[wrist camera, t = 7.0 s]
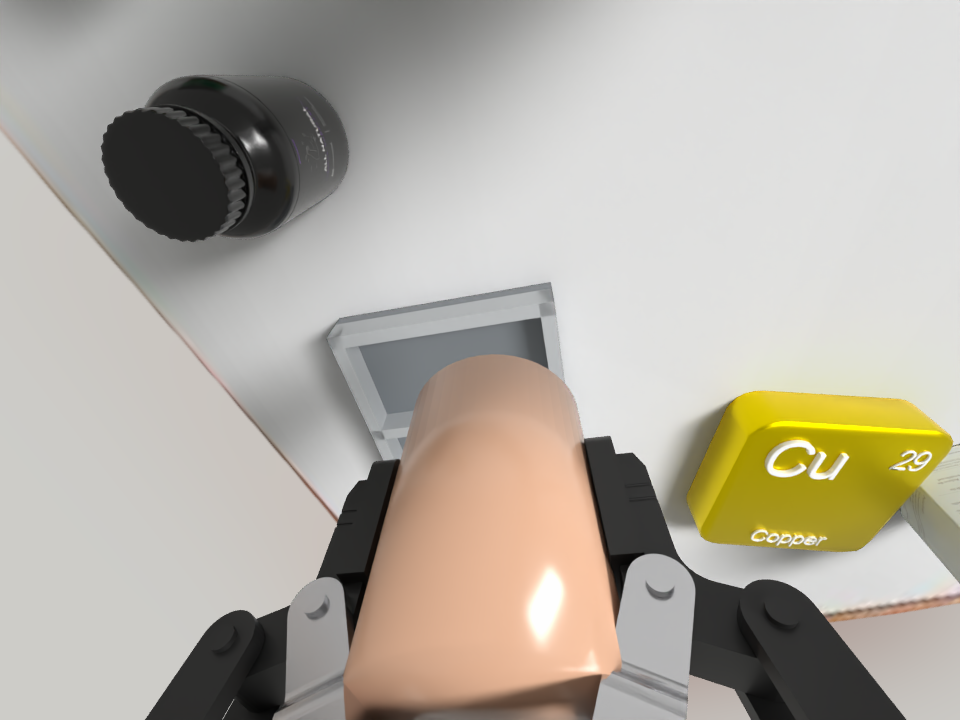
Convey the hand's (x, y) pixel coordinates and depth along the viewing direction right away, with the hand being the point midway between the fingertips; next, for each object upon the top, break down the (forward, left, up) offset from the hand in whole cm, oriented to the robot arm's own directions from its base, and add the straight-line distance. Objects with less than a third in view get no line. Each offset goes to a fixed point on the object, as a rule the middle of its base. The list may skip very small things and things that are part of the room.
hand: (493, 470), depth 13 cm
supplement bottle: (+11, -9, -20) cm, 24 cm away
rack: (+5, +13, -20) cm, 24 cm away
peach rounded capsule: (0, 0, -2) cm, 2 cm away
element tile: (-22, +24, -20) cm, 38 cm away
